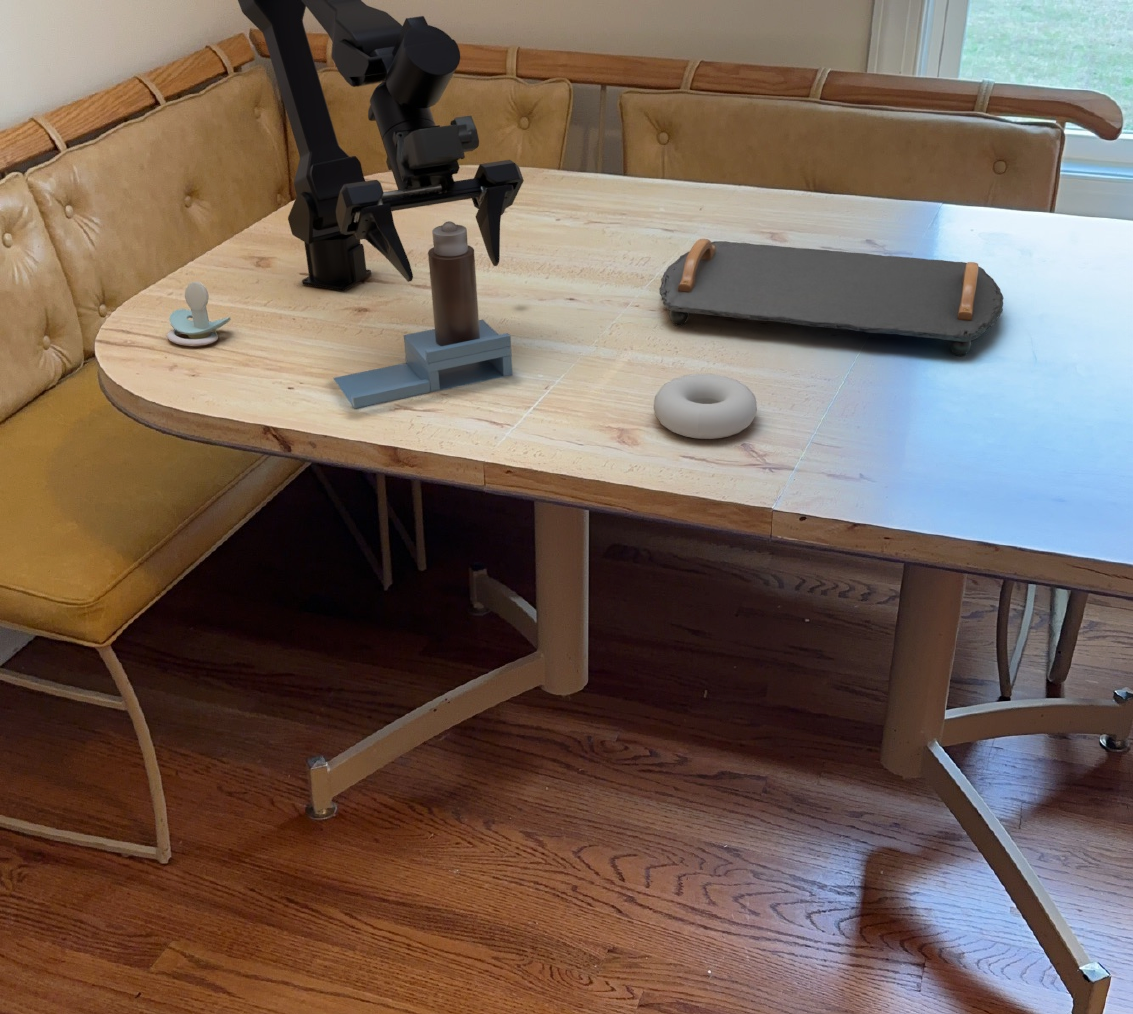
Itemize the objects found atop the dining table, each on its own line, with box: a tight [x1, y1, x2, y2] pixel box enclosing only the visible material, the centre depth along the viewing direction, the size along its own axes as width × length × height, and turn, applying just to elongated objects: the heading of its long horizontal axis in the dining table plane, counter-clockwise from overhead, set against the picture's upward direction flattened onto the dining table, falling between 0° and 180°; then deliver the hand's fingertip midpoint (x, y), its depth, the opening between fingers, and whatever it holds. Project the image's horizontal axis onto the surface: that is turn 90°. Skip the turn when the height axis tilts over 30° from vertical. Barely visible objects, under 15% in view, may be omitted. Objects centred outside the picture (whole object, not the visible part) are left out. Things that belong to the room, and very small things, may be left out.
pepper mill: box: [427, 220, 480, 346], centre depth 122 cm, size 5×5×13 cm
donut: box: [653, 373, 758, 440], centre depth 117 cm, size 10×4×10 cm
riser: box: [333, 319, 513, 410], centre depth 125 cm, size 8×17×5 cm, turn 115°
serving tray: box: [659, 238, 1004, 357], centre depth 139 cm, size 39×23×6 cm, turn 72°
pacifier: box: [166, 281, 232, 347], centre depth 136 cm, size 7×6×6 cm
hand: (454, 271), depth 121 cm, fingers open, 9 cm apart
